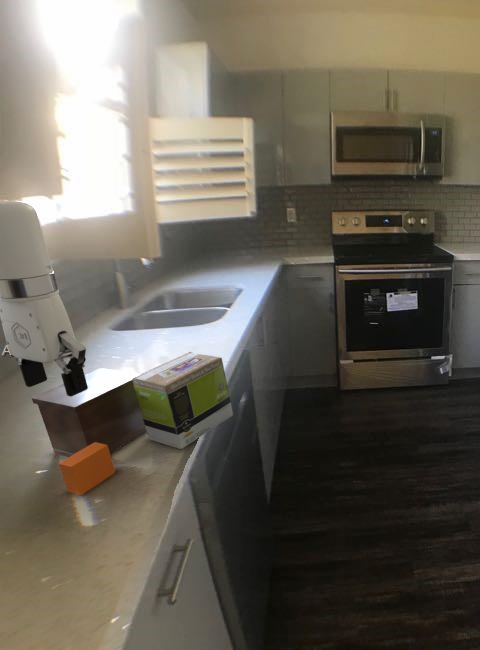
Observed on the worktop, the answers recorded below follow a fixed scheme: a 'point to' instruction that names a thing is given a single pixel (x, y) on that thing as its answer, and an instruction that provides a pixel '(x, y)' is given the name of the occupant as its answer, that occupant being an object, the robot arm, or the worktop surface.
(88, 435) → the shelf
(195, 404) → the tea box
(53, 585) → the worktop surface
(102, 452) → the block
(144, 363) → the worktop surface
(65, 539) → the worktop surface
